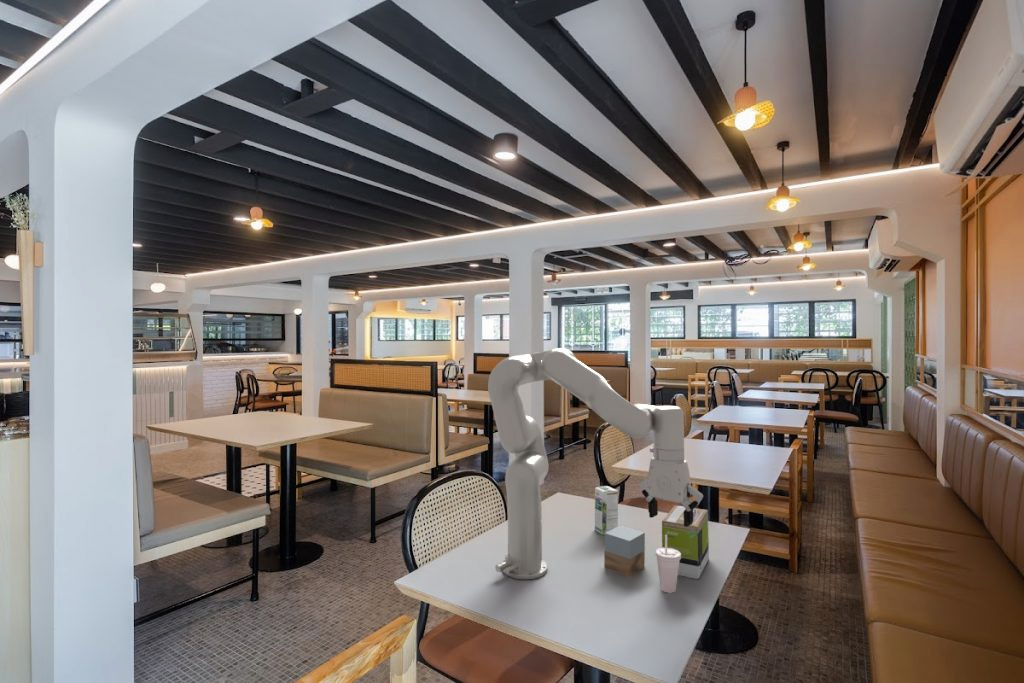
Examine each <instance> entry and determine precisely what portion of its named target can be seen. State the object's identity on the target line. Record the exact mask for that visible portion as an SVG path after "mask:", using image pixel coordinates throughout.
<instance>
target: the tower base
mask: <svg viewBox="0 0 1024 683" xmlns="http://www.w3.org/2000/svg"><path fill="white" fill-rule="evenodd" d="M645 550H646V549H645ZM645 550H644V551H643V552H641V553H639V554H638V555H636V556H634V557H633V558H631V559H628V558H625V557H622V556H619V555H616V554H613V553H610V552H607V551H605V550H604V555H603V556H604V557H603V558H604V561H603V562H604V566H603V567H604V568H605V569H607V570H609V569H610V571H613V572H615V573H618V574H620V575H622V576H625V577H628V578H630V577H631V576H632V575H633V576H634V574H636V573H639V570H640V571H641V570H643V569H644V568H645V558H646V557H645V554H646V553H645Z"/></svg>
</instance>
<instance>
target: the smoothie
mask: <svg viewBox="0 0 1024 683" xmlns="http://www.w3.org/2000/svg"><path fill="white" fill-rule="evenodd" d="M655 557H656V562H657V569H658V577H659V585H660V590H661V591H662V592H663V591H664V592H663V593H666V592H668V593H667V594H673V593H672V592H674V593H676V589H677V583H678V576H679V575H678V569H679V561H680V559H681V553H680V552H679V551H678V550H676V549H672V548H667V535H665V548H662V547H659V548H657V549H655Z"/></svg>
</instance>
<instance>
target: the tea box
mask: <svg viewBox="0 0 1024 683" xmlns="http://www.w3.org/2000/svg"><path fill="white" fill-rule="evenodd" d="M685 510H686V509H685V508H684V506H683V505H676V504H675V505H673V507H672V508H671V510H669V512H668V513H667V514H666V515H665V517H664V518H663V519H662V520H661V543H662V544H661V545H662V546H661V548H665V535H667V548H672V549H676V550H678V551H679V552H680V553H681V559H680V561H679V569H678V576H680V575H681V577H684V576H685V578H689V579H690V578H691V579H694V580H699V579H700V576H701V575H702V573H703V571H704V570H705V567H706V564H707V563H708V561H709V558H710V551H709V550H710V548H709V547H710V546H709V542H710V541H709V540H710V538H709V510H708V509H703V508H702V509H701V508H696V507H695V508H694V509H693V523H692V524H691V525H690V526H688V527H685V526H684V511H685Z"/></svg>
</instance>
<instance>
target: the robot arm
mask: <svg viewBox="0 0 1024 683" xmlns="http://www.w3.org/2000/svg"><path fill="white" fill-rule="evenodd" d="M547 380H551V381H552V382H554V383H555V384H557V385H558V386H560V387H562V389H564V390H566V391H567V392H569V393H570V394H571V395H573V396H575V398H577V399H579V400H580V401H582V402H583V403H584V404H585V405H586V406H587V407H588V408H589V409H591V411H593V412H594V413H595V414H596V415H597V416H599V417H600V418H601V419H602V420H604V421H605V422H606V423H607V424H609V425H611V426H612V427H614V428H615V429H616V430H618V431H619V432H621V433H622V434H624V435H626V436H628V437H630V438H633V439H640V438H643V437H645V436H647V435H648V434H649V432H652V434H653V446H652V447H651V446H650V447H649V452H650V453H651V454H653V456H652V457H651V458H650V461H649V468H648V475H647V479H646V480H645V479H644V480H642V481H640V482H639V483H638V486H639V487H640V490H641V494H642V495H643V496H644V497H645V501H646V502H647V505H648V507H647V508H648V510H647V511H648V514H649V518H650V519H651V518H655V517H656V516H658V513H659V512H658V510H659V509H658V507H659V506H658V500H664V501H667V502H672V503H677V504H681V506H683V507H684V508H685V509H686V510H685V511H684V526H685V527H688V526H690V525H691V524H692V523H693V509H694V508H696V507H698V506H699V505H701V501H702V500H703V498H704V494H703V493H702V492H701V491H699V490H698V489H696V488H695V487H693V486H692V485H691V484H692V483H691V474H690V469H689V464H688V462H687V461H688V460H685V432H684V430H685V429H684V428H685V423H684V422H685V421H684V420H685V419H684V411H683V409H682V408H681V407H680V406H677V405H650V404H644V403H634V404H633V403H632V402H630V401H628V400H627V399H625V398H624V397H622V396H621V394H619V393H618V392H616V391H615V390H614V389H613V388H612V387H611V385H610V384H609V383H608V382H607V380H606V378H604V376H602V375H601V374H599V373H598V372H597V371H595V370H593V369H592V368H591V367H589V366H587V365H586V363H585V364H584V363H583V362H581V361H580V360H578V359H577V358H576V356H575V354H574V353H573V352H572V351H571V350H570V349H567V348H564V347H557V348H556V347H555V348H552V349H549V350H542V351H539V352H532V353H525V354H524V353H523V354H517V355H511V356H508V357H506V358H504V359H501V361H499V362H498V363H497V364H496V365H495V366H494V367H493V369H492V370H491V372H490V374H489V377H488V381H487V382H488V383H487V390H488V395H489V400H490V402H491V406H492V407H491V408H492V411H493V416H494V420H495V424H496V425H495V426H496V429H497V432H498V438H499V442H500V445H501V446H502V448H503V450H505V451H506V452H507V453H509V454H514V455H515V456H514V457H515V459H514V460H512V461H511V463H510V464H509V465H508V467H507V469H506V471H505V476H504V482H505V484H504V485H505V488H506V489H505V490H506V500H507V501H506V502H507V555H504V557H505V558H504V560H503V562H500V563H497V564H495V567H494V568H495V571H496V573H497V572H498V573H500V572H503V573H504V574H505V575H506V576H508V577H509V578H513V579H516V580H535V579H538V578H541V577H543V576H544V575H546V573H547V572H548V564H547V562H546V561H545V560H543V557H542V556H543V553H542V552H543V549H542V548H543V544H542V539H543V536H542V533H543V530H542V529H543V528H542V526H543V525H542V524H543V523H542V522H543V520H542V515H543V514H542V513H543V512H542V496H541V483H542V481H543V480H544V479H545V478H546V476H547V475H548V472H549V468H550V467H549V460H548V454H547V450H546V447H545V443H544V439H543V435H542V432H541V429H540V426H539V424H538V422H537V421H536V419H534V417H532V416H529V415H527V414H526V413H525V409H524V405H523V400H522V398H521V396H520V394H519V387H520V386H522V385H526V384H530V383H534V382H539V381H540V382H542V381H547ZM691 496H693V497H694V499H693V500H692V499H691ZM657 499H658V500H657Z"/></svg>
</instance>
